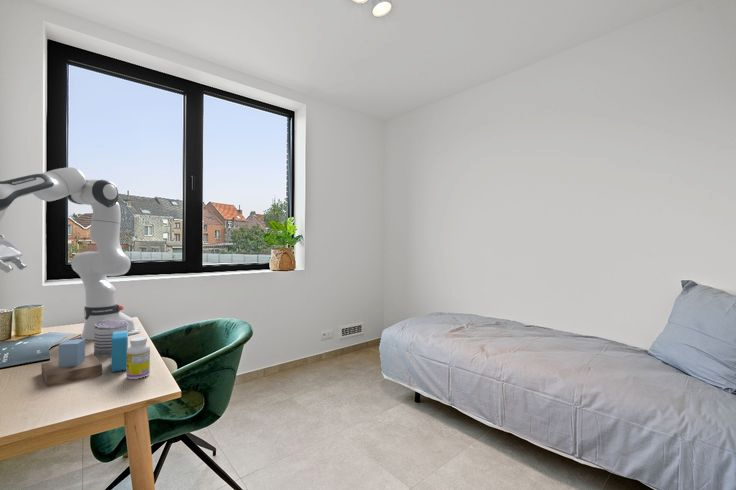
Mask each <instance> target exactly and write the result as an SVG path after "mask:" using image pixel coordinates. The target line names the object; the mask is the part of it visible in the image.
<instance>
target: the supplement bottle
mask: <svg viewBox="0 0 736 490" xmlns="http://www.w3.org/2000/svg"><path fill="white" fill-rule="evenodd" d="M147 341H148V338H147V337H146V336H138V337H132V338H131V339H130V346H128V349H127V367H126V368H127V370H125V371H126V373H125V374H126V378H127V379H128V380H132V379H134V380H138V379H137V378H141V379H143V378H142V377H144V376H146V375H148V374H149V375H150V373H151V372H150V371H151V366H150V365H151V360H150V359H151V347H150V345H149V344H147ZM149 375H148V376H149ZM146 377H147V376H146ZM144 378H145V377H144Z"/></svg>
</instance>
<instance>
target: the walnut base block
mask: <svg viewBox="0 0 736 490" xmlns="http://www.w3.org/2000/svg"><path fill="white" fill-rule="evenodd" d="M58 363H59V360H53V361H48V362H44V363H41V376H42V378H43V381H44V383H45V385H46V387H51V386H52V387H53V386H55V385H60V384H64V383H69V382H74V381H78V380H83V379H88V378H93V377H97V376H101V375H103V363H102V362H101V361H100V360H99V359H98V358H97V357H96V355H94V353H92V354H89V355H85V361H83V362H82V363H81V364H79V365H78V366H68V367H58Z"/></svg>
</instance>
